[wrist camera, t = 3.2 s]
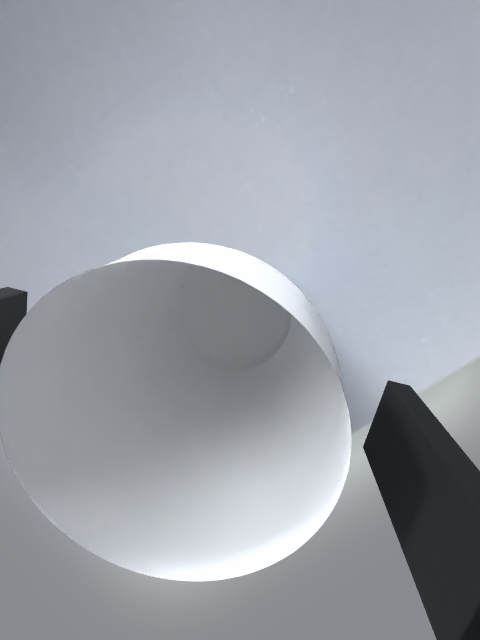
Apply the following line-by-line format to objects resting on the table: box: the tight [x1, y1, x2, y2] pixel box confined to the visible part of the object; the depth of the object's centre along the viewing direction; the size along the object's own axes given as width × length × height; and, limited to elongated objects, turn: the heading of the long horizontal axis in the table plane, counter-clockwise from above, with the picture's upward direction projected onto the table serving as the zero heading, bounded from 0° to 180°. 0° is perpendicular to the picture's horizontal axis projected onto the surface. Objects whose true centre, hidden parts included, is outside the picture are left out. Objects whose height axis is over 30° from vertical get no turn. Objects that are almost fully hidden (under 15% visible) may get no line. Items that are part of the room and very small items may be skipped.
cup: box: [0, 243, 352, 581], centre depth 14 cm, size 9×9×12 cm
